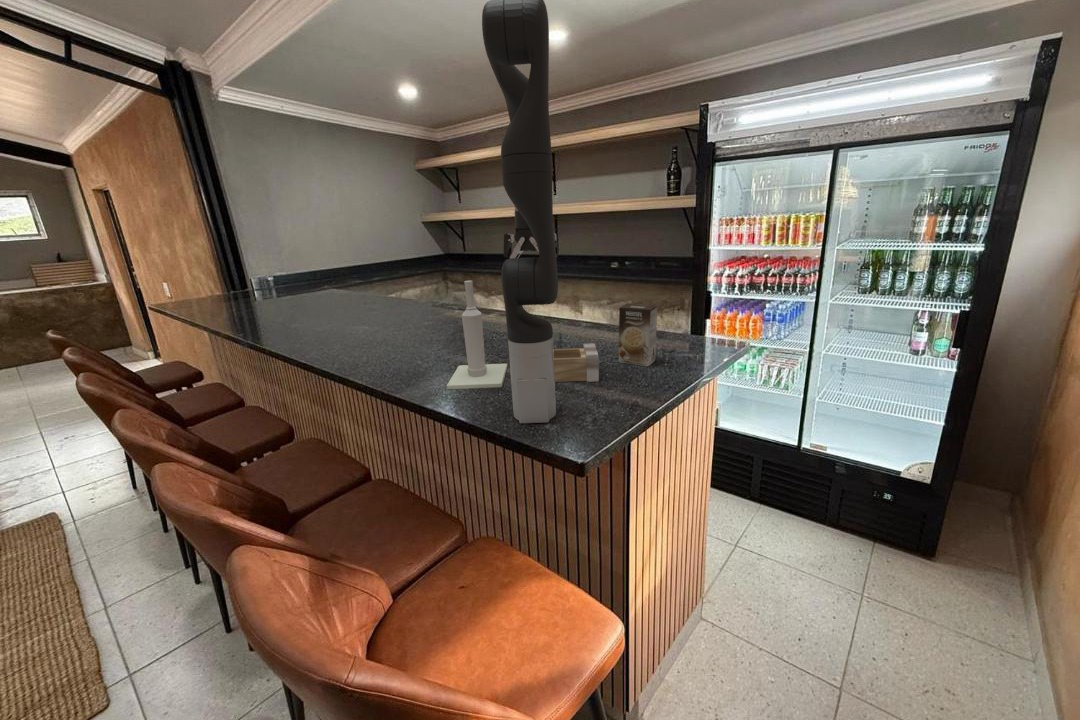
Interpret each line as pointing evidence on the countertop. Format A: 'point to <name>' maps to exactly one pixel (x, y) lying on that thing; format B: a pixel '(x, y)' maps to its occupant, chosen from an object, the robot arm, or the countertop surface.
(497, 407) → the countertop surface
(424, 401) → the countertop surface
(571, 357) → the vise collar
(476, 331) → the bottle
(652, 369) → the countertop surface
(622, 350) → the coffee box
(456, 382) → the sage board
